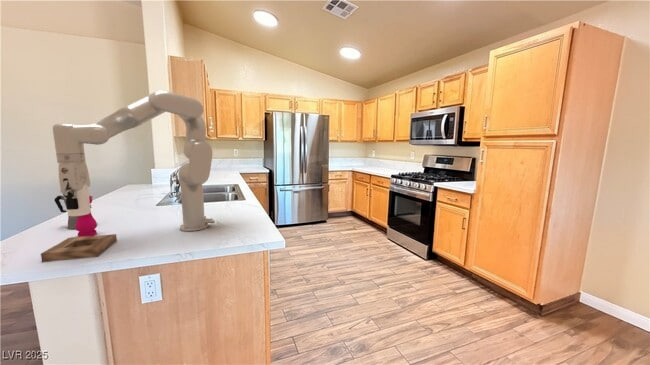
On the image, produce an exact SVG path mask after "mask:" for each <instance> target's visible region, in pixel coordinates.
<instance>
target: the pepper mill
mask: <svg viewBox="0 0 650 365" xmlns="http://www.w3.org/2000/svg"><path fill="white" fill-rule="evenodd" d="M91 196H92V195H89V200H90V208H91V209H92V203H93V198H91ZM97 227H98V222H97V221H96V219H95V218H94V217H93V214H92V212H91V213H90V214H88V215H83V216H78V219H77V221H76V224H75V229H74V230H76V231H77V237H86V236H97V235H98V234H97V230H96V229H97Z"/></svg>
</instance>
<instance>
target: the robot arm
mask: <svg viewBox="0 0 650 365" xmlns="http://www.w3.org/2000/svg"><path fill="white" fill-rule="evenodd" d="M164 113H169V114H174V115H177V116H178V117H180V119H181V120H183V122H184V125H185V139H184V145H183V155H184V156H185V158H187V159H189V160H188V162H186V163H184V164H182V165H180V167H179V169H178V180H179V181H178V182H179V186H180V195H181V211H182V213H181V214H182V224H180V226H179V230H180V231H183V232H197V231H200V230H204V229H206V228H208V227H209V224H214V223H215V218H212V217H211V218H207V216H206V215H205V204H204V203H205V201H204V187H203V185H204V184H205V183H206V182H208V179H209V178H210V174H211V167H212V161H213V160H212V159H213V149H212V147H211V144H209V143H208V142H207V141H206V139H207V138H206V135H207V125H206V122H205V120H204V118H203V117H202V115H203V114H204V106H203V105H202V103H201V102H200V101H199V100H197V99H195V98H193V97H189V96H186V95H181V94H178V93H176V92H175V93H174V92H171V91H168V90H164V89H163V90H161V89H159V90H157V91H154V92H151V93H150V94H148V95H146V96H143V97H141V98H139V99H137V100H135V101H134V102H131V103H129V104H127V105H124V106H122V107H121V108H119V109H117V110H116V111H115V112H113V113H111V114H109V115H106V116H105V117H103V118H101V119H99V120H97V121H95V122H92V123H91V124H74V123H55V124H53V126H52V134H53V135H52V136H53V140H54V148H55V155H56V163H57V164H58V182H59V187H60V193H61V194H62V196H64V198H65V199H66V205H65V207H66V206H67V208H66V210H67V209H68V210H71V209H78V208H79V207H78V199H77V198H76V190H81V189H83V186H84V185H87V186H88V188H89V187H91V180H90V174H89V169H88V166H87V162H86V154H85V147H84V144H89V145H95V146H97V145H98V146H99V145H103V144H106V143H107V142H109V140H110V139H111V138H114V137H115V136H117V135H119V134H121V133H123V132H126V131H128V130H131V129H135V128H137V127H140V126H141V125H143V124H146V123H147V122H149V121H151V120H153V119H155V118H156V117H158V116H160V115H162V114H164ZM68 188H72V189H73V190H68ZM71 192H72V193H71Z"/></svg>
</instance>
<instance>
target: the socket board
mask: <svg viewBox="0 0 650 365" xmlns="http://www.w3.org/2000/svg"><path fill="white" fill-rule="evenodd" d="M116 242H118V238H117V233H116V234H101V235H95V236H86V237H78V236H73V237H67V238H66V239H64V240H62V241H60V242H59V243H57V244H56V245H54V246H51V247H50V248H48V249H47V250H45V251H43V252H41V253H40V257H41V258H40V259H41V262H42V263H44V262H54V261H55V262H56V261H66V260H76V259H87V258H98V257H99V256H101V255H102V254H104V252H105V251H107V250H108V249H109V248H110V247H112V246H113V245H114V244H115V243H116Z"/></svg>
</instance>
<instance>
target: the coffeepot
mask: <svg viewBox="0 0 650 365" xmlns="http://www.w3.org/2000/svg"><path fill="white" fill-rule="evenodd" d="M90 196H91V198H92V199H93V195H90ZM61 200H63V202H64V204H65V208H66V209H67V206H66V199H65V198H64V195H57V196H56V197H55V198H54V202H55V204H56V206H57V208H58V210H59V211H60V213H68V212H67V210H65V209H64V206H63V205H62V204H61ZM67 217H68V219H67V230H76V229H75V224H76V221H77V219H78V216H76V217H70V216H69V215H67Z"/></svg>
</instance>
